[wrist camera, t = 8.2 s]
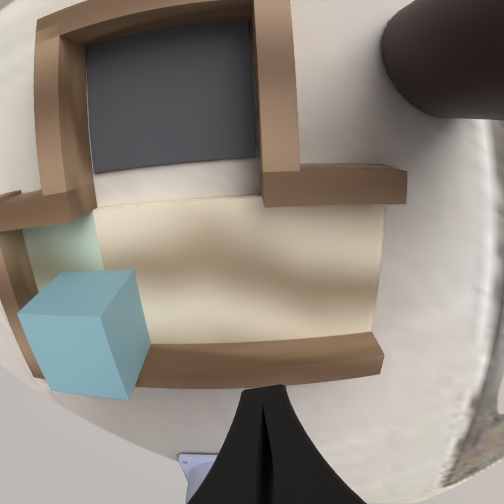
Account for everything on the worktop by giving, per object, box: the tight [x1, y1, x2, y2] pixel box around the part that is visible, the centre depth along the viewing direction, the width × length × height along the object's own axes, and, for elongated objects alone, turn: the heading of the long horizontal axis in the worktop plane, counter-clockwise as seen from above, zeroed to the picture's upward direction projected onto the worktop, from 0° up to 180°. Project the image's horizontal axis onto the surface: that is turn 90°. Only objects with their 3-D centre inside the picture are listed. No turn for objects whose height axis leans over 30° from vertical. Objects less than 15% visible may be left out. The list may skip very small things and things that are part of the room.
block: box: [17, 269, 151, 400], centre depth 16 cm, size 5×5×5 cm
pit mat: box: [87, 19, 256, 173], centre depth 14 cm, size 8×9×1 cm
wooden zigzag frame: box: [0, 0, 407, 389], centre depth 15 cm, size 21×22×3 cm
